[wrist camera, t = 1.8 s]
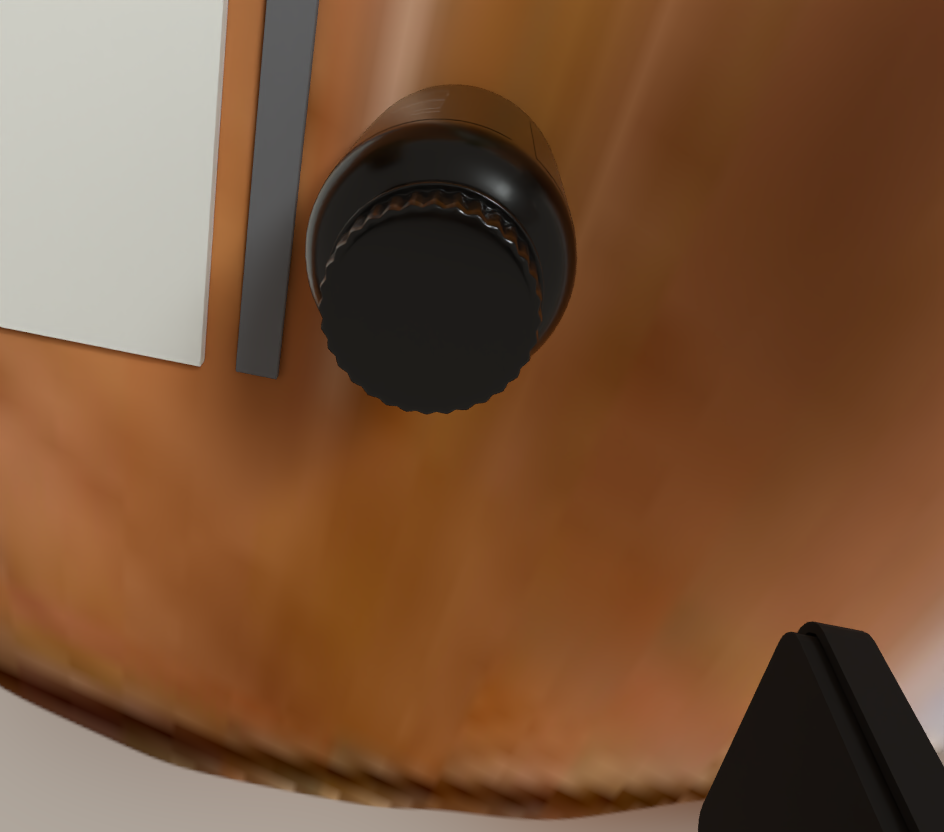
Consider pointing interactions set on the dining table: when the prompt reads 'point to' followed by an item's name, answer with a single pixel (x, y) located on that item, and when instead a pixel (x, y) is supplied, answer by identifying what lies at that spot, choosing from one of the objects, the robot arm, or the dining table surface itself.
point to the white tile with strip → (142, 172)
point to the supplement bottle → (441, 250)
